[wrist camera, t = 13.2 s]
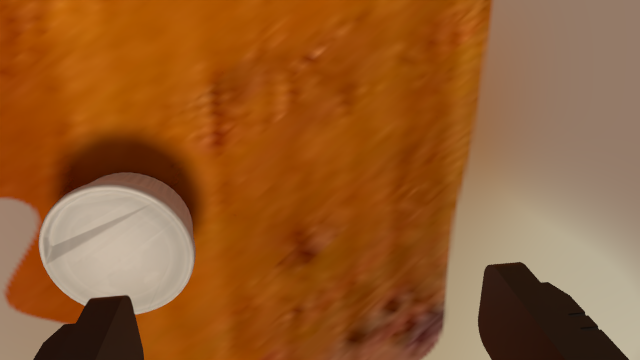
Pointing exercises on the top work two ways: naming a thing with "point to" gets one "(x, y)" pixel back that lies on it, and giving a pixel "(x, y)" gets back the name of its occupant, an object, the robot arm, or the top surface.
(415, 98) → the top surface
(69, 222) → the ramekin
